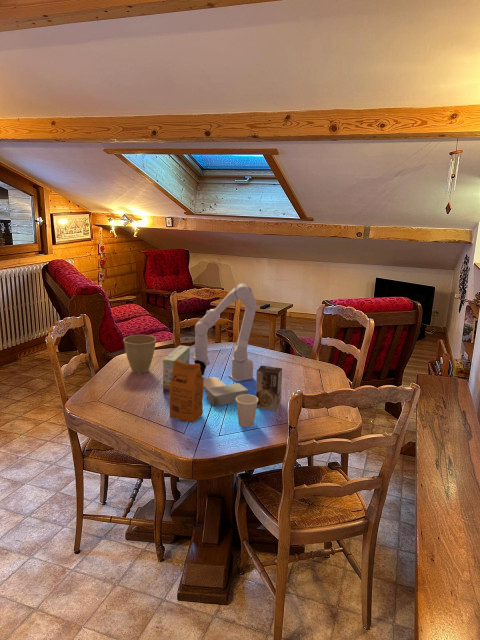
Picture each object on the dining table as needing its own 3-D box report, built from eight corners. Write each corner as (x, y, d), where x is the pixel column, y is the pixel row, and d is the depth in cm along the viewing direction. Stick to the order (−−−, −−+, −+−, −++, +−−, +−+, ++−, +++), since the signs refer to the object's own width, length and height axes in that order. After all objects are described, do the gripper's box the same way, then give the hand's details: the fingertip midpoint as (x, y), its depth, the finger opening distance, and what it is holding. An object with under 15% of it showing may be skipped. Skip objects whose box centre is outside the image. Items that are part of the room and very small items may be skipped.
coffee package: (179, 407, 183) (179, 355, 177) (206, 414, 178) (207, 360, 172) (164, 417, 174) (164, 362, 169) (192, 425, 169) (192, 369, 163)
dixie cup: (259, 428, 169) (260, 402, 166) (237, 429, 167) (238, 404, 164) (254, 417, 176) (255, 393, 174) (233, 419, 175) (233, 394, 172)
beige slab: (238, 392, 199) (238, 383, 197) (247, 399, 192) (247, 389, 191) (206, 398, 192) (206, 388, 190) (214, 406, 185) (214, 396, 184)
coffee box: (280, 405, 188) (283, 367, 184) (276, 411, 182) (278, 373, 178) (259, 401, 191) (261, 364, 186) (254, 407, 185) (256, 370, 181)
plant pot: (133, 379, 210) (132, 345, 206) (119, 369, 221) (118, 337, 217) (162, 372, 219) (161, 340, 215) (147, 363, 230) (146, 332, 226)
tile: (215, 381, 212) (215, 376, 211) (228, 391, 201) (228, 386, 200) (197, 384, 208) (197, 379, 207) (209, 395, 197) (209, 390, 196)
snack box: (175, 394, 196) (174, 360, 192) (162, 392, 197) (161, 359, 193) (190, 376, 216) (190, 345, 212) (178, 375, 217) (178, 344, 213)
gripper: (187, 343, 215) (187, 371, 219) (199, 353, 203) (199, 382, 206) (201, 342, 218) (200, 369, 222) (214, 351, 206) (213, 379, 210)
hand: (201, 375), depth 214 cm, fingers closed
